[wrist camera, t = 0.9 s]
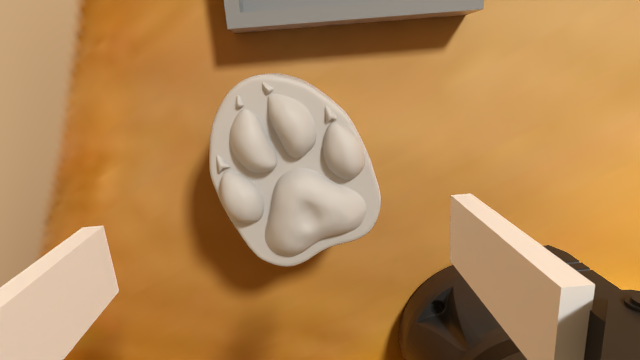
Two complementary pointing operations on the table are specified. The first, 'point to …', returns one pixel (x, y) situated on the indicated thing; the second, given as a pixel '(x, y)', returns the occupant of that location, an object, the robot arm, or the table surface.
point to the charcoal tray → (335, 12)
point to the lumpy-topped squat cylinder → (291, 169)
